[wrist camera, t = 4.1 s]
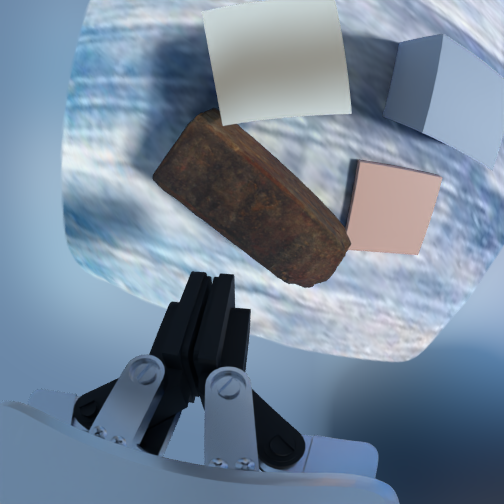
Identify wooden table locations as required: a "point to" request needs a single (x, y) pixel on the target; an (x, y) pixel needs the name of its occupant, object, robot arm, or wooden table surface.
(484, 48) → the wooden table surface
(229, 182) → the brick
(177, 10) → the wooden table surface
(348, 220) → the tile
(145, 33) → the wooden table surface
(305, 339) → the wooden table surface
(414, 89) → the slate block
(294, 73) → the pale grey cube
